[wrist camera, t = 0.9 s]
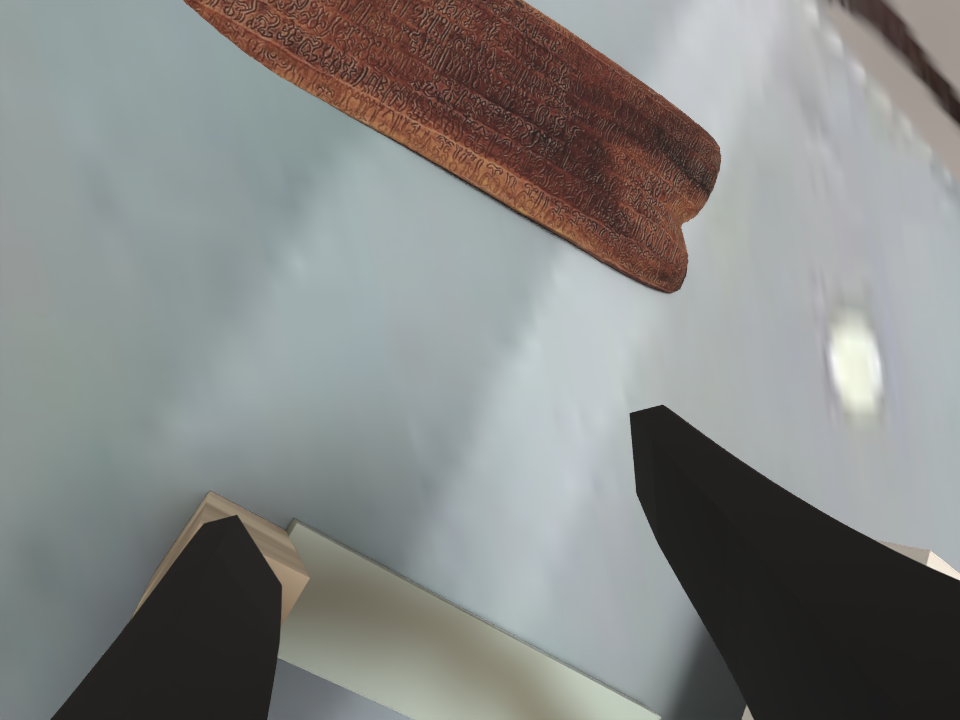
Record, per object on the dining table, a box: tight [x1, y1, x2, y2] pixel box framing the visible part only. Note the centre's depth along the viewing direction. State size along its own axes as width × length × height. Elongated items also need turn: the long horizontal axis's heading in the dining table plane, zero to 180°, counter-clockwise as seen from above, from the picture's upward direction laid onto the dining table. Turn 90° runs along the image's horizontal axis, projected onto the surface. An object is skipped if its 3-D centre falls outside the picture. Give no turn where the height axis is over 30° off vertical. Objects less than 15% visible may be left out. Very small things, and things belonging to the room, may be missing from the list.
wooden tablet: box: [184, 0, 721, 293], centre depth 26 cm, size 26×2×10 cm
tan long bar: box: [131, 491, 661, 720], centre depth 20 cm, size 4×21×7 cm, turn 58°
